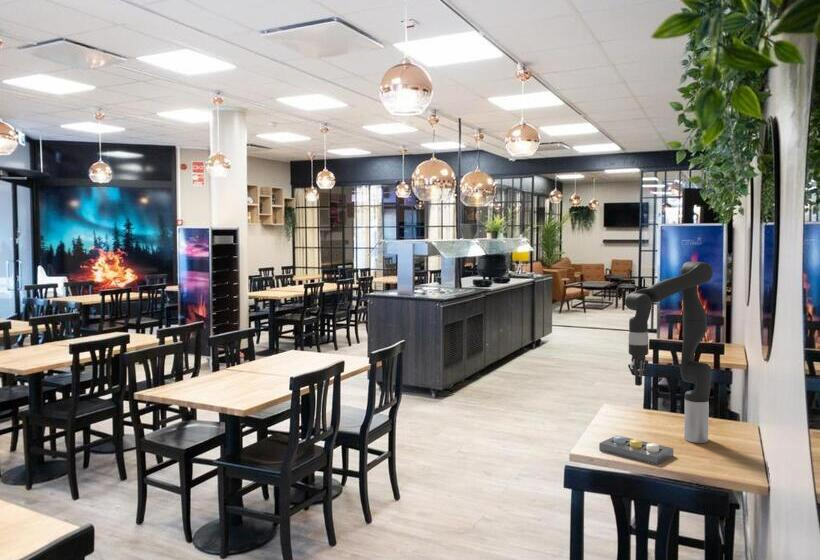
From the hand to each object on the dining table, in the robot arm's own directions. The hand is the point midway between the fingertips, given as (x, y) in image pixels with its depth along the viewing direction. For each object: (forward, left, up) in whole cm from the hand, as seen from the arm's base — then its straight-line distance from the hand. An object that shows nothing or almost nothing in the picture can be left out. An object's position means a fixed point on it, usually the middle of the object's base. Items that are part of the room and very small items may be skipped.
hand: (638, 385), depth 257 cm
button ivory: (+6, +9, -26) cm, 28 cm away
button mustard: (+6, +2, -26) cm, 26 cm away
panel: (+6, +2, -26) cm, 27 cm away
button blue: (+6, -5, -26) cm, 27 cm away
